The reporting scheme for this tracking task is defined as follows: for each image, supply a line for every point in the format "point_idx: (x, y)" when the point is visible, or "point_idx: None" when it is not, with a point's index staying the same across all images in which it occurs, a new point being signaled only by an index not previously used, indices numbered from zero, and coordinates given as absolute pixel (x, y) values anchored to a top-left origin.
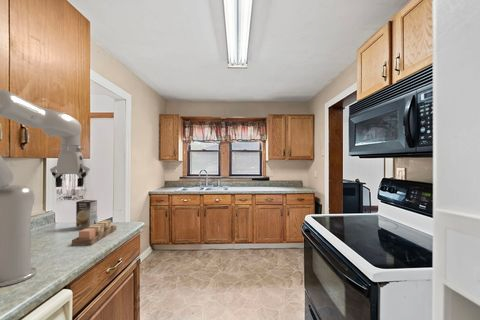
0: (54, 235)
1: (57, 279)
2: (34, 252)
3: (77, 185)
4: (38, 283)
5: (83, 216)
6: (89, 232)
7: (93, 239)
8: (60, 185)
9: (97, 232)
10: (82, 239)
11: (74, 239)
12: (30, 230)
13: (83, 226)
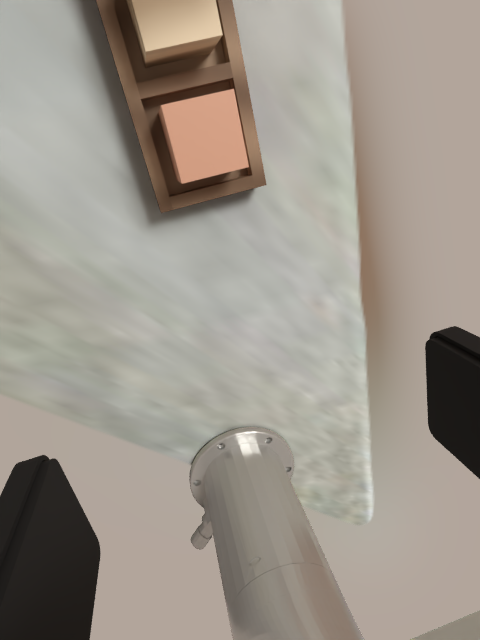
0: None
1: (365, 436)
2: (70, 325)
3: (444, 443)
4: (335, 461)
5: None
6: (246, 166)
7: (260, 162)
8: (65, 505)
9: (207, 49)
10: (210, 188)
11: (164, 198)
12: (323, 564)
13: None
